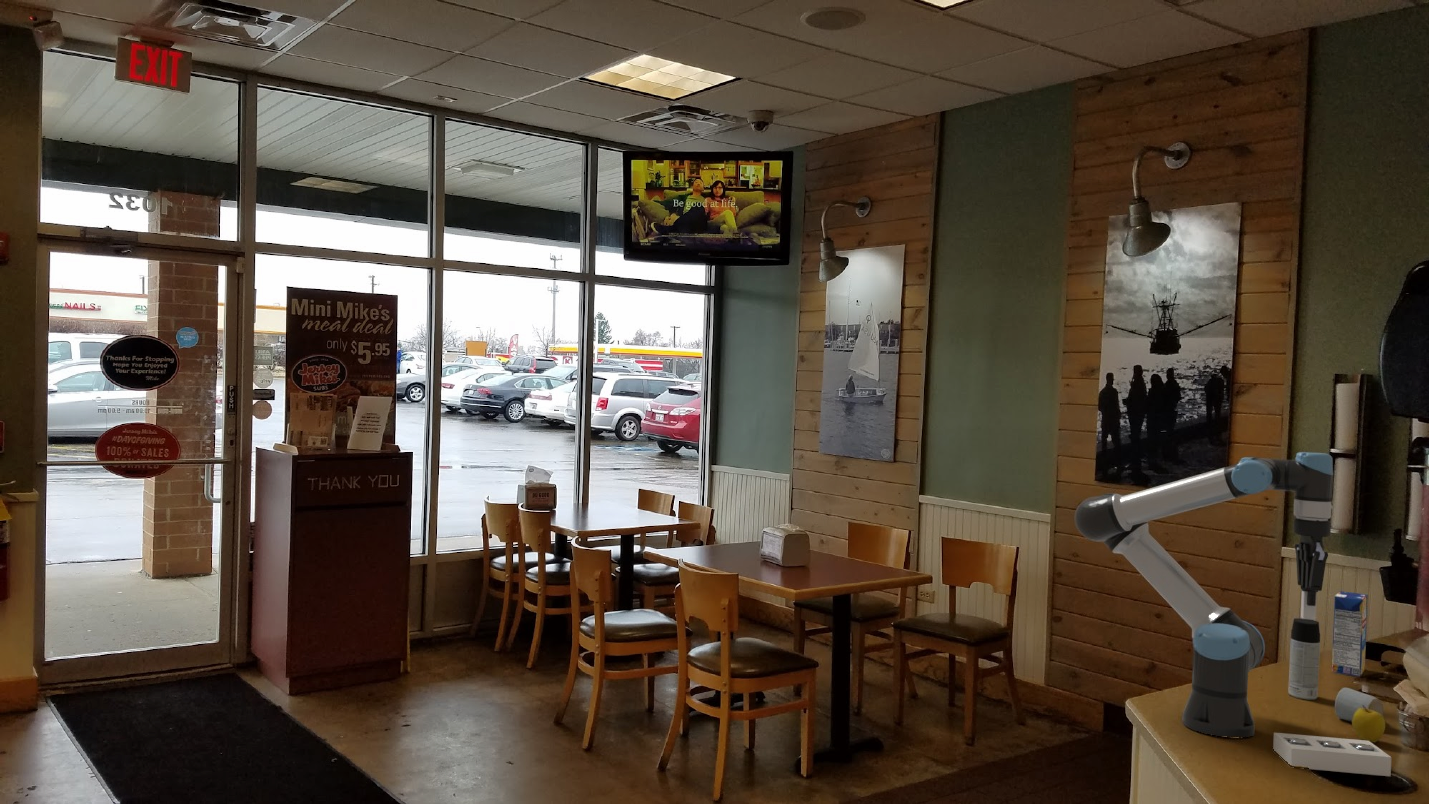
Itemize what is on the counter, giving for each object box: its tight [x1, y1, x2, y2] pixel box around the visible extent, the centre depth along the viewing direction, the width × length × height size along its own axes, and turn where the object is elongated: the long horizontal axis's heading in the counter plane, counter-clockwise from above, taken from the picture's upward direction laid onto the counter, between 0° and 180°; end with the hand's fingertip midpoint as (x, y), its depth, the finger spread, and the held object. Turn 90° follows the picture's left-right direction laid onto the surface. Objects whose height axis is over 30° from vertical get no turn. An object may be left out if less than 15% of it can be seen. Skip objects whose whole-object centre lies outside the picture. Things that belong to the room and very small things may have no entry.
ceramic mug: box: [1334, 687, 1385, 723], centre depth 241 cm, size 11×8×8 cm
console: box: [1272, 732, 1392, 777], centre depth 212 cm, size 19×10×4 cm, turn 80°
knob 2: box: [1354, 744, 1374, 752], centre depth 211 cm, size 4×4×4 cm
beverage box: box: [1331, 590, 1368, 678], centre depth 288 cm, size 7×11×22 cm, turn 140°
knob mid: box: [1321, 741, 1341, 749], centre depth 212 cm, size 4×4×4 cm
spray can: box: [1287, 617, 1321, 701], centre depth 261 cm, size 7×7×20 cm
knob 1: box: [1288, 738, 1307, 746], centre depth 213 cm, size 4×4×4 cm
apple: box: [1351, 705, 1386, 744], centre depth 227 cm, size 6×6×8 cm
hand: (1308, 618), depth 233 cm, fingers closed
